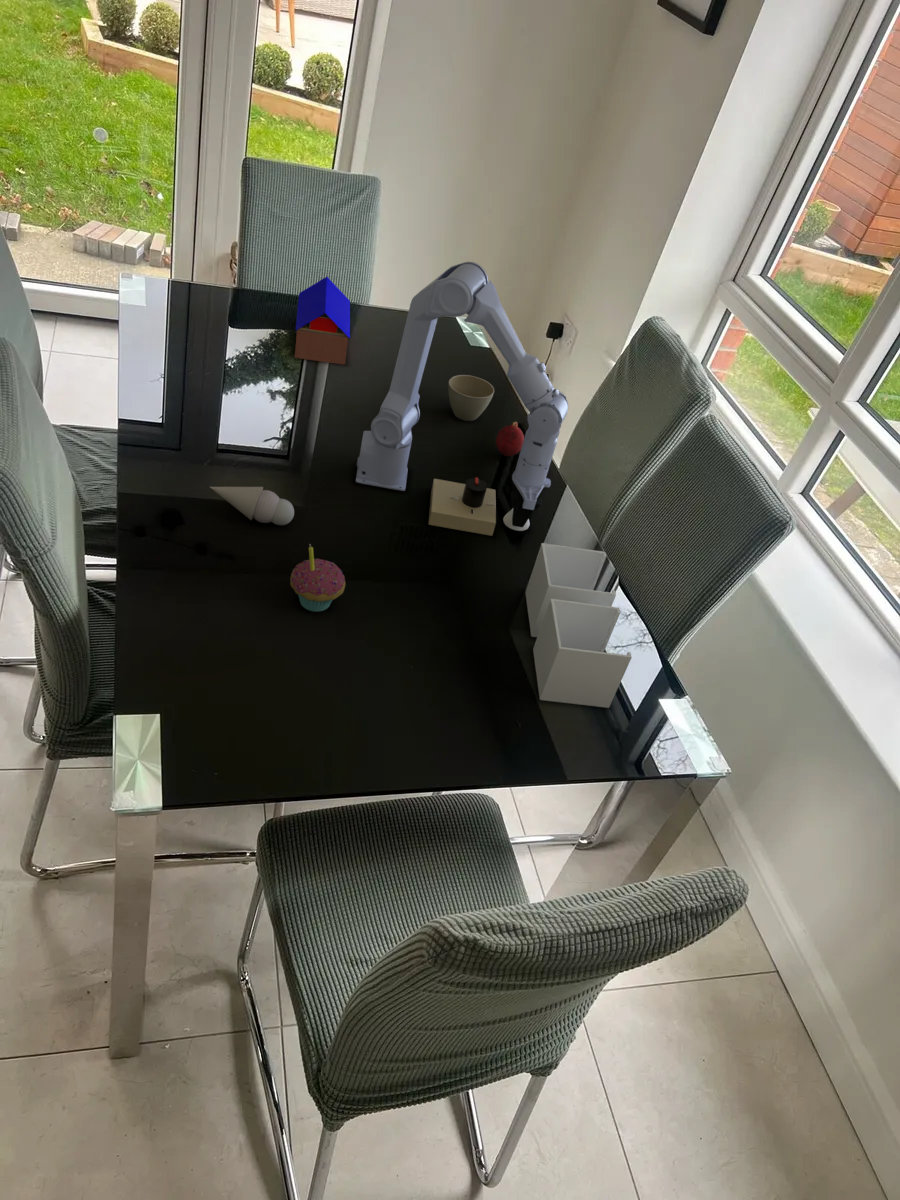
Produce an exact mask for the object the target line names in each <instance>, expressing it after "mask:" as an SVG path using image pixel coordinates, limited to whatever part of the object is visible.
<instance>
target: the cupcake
mask: <svg viewBox="0 0 900 1200" xmlns="http://www.w3.org/2000/svg"><path fill="white" fill-rule="evenodd" d="M308 545H309V547H308V557H309V558H308V559H304V560H302V561H301V562H299V563H298V564H296V565H295V567H294V568H293V569H292V572H291V574H290V581H289V583H290V587H291V588H292V590H294V592H295V594H296V595H297V596H298V598H299V603H300V605H301V607H302V608H304V609H306V610H307V611H310V612H323V611H325V610H328V608H330V606H331V604H332V602H333V601H334V600H336V599H337V598H339V597H340V596H342V595H343V593H344V592H345V588H346V578H345V575H344V572H343V569H341V568H340V567H339V566H338V565H337V564H335V562H333V561H330V560H327V559H320V558H315V556H314V555H315V554H314V547H313V546H312V544H311V543H309V544H308Z"/></svg>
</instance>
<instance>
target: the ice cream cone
mask: <svg viewBox="0 0 900 1200" xmlns="http://www.w3.org/2000/svg"><path fill="white" fill-rule="evenodd" d="M209 488H210V489H211V490H213V491H214V492H215V493H216V494H217V495H218V496H220V497H221V498H222V499H224V500H225V501H226V502H228V504H230V505H231V506H232V507H234V508H235V509H236V510H237V511H239V512H240V513H241V514H243V516H244V517H246V518H247V519H249V520H250V521H253V519H254V520H255V521H257V522H259V523H261V524H262V523H263V524H268V523H272V524H274V525H277V526H286V525H288V524H289V523H291V522H292V520H293V519H294V516H295V508H294V506H293V504H292V503H291V502H290V501H289V500H287V499H285V498H280V497H279V496H278V494H277V493H275V492H274V491H271V490H268V489H264V486H209Z"/></svg>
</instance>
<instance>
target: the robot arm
mask: <svg viewBox="0 0 900 1200" xmlns="http://www.w3.org/2000/svg"><path fill="white" fill-rule="evenodd" d="M464 315H467V316H466V318H465V319H464V322H466V323H470V324H475V325H478V326H479V325H480V326H482V327H483V328H484V329H485V331H486V333H487V334H488V336H489V338H490V339H491V341H492V342H493V343H494V345H495V346H496V348H497V350H498V351H499V352H500V354H501V355H502V357H503V358H504V359H505V361H506V362H507V364H508V369H507V373H506V374H507V375H506V376H507V378H508V380H509V381H510V383H511V384H512V386H513V388H514V390H515V392H516V393H517V395H518V396H519V398H520V400H521V401H522V403H523V406H524V407H525V408H526V410H527V411H528V412H529V413H528V414H527V416H526V417H527V418H526V419H527V424H528V428H527V429H526V431H525V434H524V441H523V445H522V448H521V450H520V451H519V456H518V459H517V463H516V466H515V470H514V471H513V473H511V474H510V483H511V485H512V491H511V493H510V494H511V495H510V497H511V509H512V508H513V516H512V525H513V526H517V527H523V526H524V525H525V524H526V522H527V520H528V519H529V520H530V517H531V516H532V515H533V513H534V512H535V511H536V510H537V509H539V508H541V506H542V504H543V500H542V499H543V498H541V497H539V496H540V494H541V493H542V491H543V489H544V488H550V487H551V485H552V483H551V482H552V481H551V479H550V478H548V477H547V476H548V473H549V469H550V466H551V463H552V460H553V457H554V453H555V450H556V447H557V444H558V437H559V435H560V432H561V431H560V430H561V428H562V424H563V422H564V420H565V418H566V417H567V415H568V412H569V402H568V400H567V396H566V395H565V394H564V393H563V392H561V391H560V390H558V389H557V388H555V387H554V386H553V383H552V382H551V380H550V379H549V376H548V375H547V373H546V369H547V367H546V364H545V363H544V362H543V361H542V362H540V361H539V359H538V358H537V356H535V355H532V354H529V353H527V352H526V351H525V349H524V347H523V344H522V342H521V340H520V338H519V336H518V334H517V333H516V330H515V329H514V326H513V325H512V323H511V321H510V319H509V317H508V315H507V313H506V311H505V308H504V306H503V305H502V303H501V301H500V297H499V295H498V291H497V288H496V286H495V284H494V283H493V281H492V280H489V277H488V274H487V271H486V270H485V269H484V268H483V266H481V265H480V264H479V263H477V262H474V261H464V262H461V263H457V264H454V265H451V266H450V267H448V268H447V269H446V270H445V271H443V272H442V273H441V274H439V276H437V277H436V278H434V279H433V280H432V281H431V282H429V284H427V285H426V286H425V287H423V288H422V289H421V290H420V291H418V293H416V294H415V295H414V296H413V297H412V299H411V301H410V303H409V309H408V312H407V316H406V321H405V324H404V329H403V333H402V337H401V341H400V344H399V350H398V352H397V353H398V354H397V358H396V362H395V366H394V370H393V374H392V378H391V382H390V386H389V390H388V392H387V394H386V396H385V397H384V400H383V401H382V403H381V405H380V409H379V412H378V414H377V415H376V416H375V417H374V418H373V420H372V421H371V424H370V430H364V431H363V433H362V438H361V445H360V451H359V456H358V457H357V461H356V467H357V468H356V469H357V470H356V477H355V483H357V484H361V485H368V486H372V487H377V488H384V489H389V490H395V491H399V492H400V491H401V492H405V491H406V488H407V479H408V470H409V468H408V463H409V457H410V451H411V447H412V444H413V443H412V442H413V441H412V440H413V434H412V428H413V426H415V425H417V423H418V422H419V420H420V416H421V410H420V406H419V401H420V398H421V396H420V393H419V390H420V386H421V382H422V379H423V374H424V371H425V367H426V364H427V360H428V356H429V352H430V348H431V345H432V341H433V338H434V333H435V330H436V327H437V323H438V319H440V318H442V317H443V318H445V317H446V318H456V317H457V318H458V317H461V316H464Z"/></svg>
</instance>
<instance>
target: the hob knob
mask: <svg viewBox="0 0 900 1200" xmlns="http://www.w3.org/2000/svg"><path fill="white" fill-rule="evenodd" d="M464 484H465V488H464V492H463V496H462V502H463V503H464V504H465V505H467V506H469V507H473V508H478V507H481V506H482V505H483V501H484V497H485V493H486V490H487V488H488V484H487V483H486V482H485V481H484V480H481V479H479V477H474V478H473V477H472V478H468V479H466V481H465V483H464Z"/></svg>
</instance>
